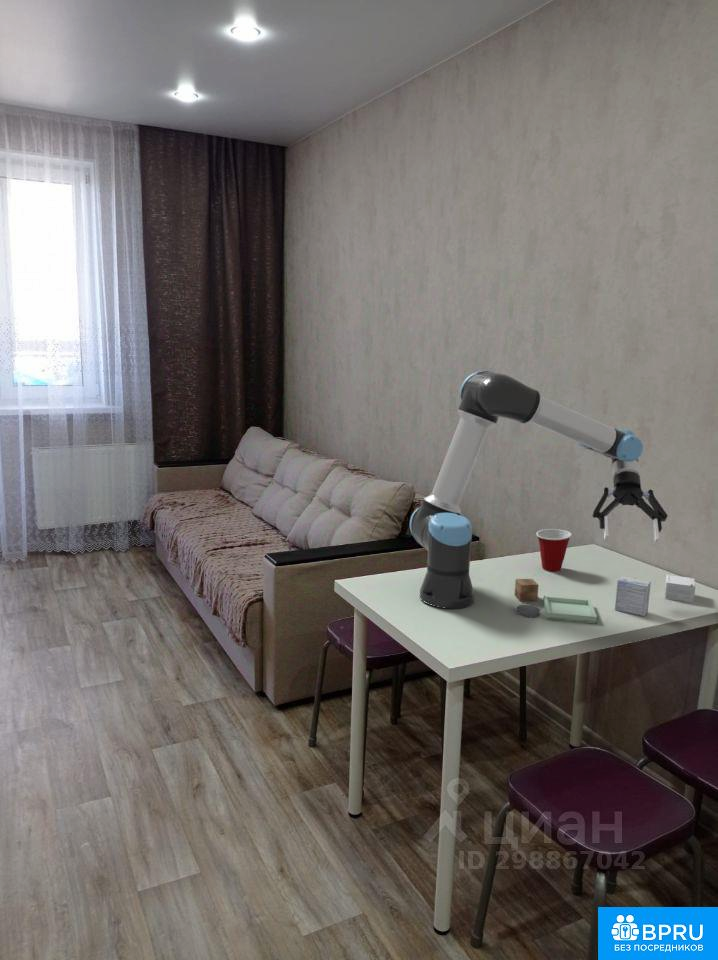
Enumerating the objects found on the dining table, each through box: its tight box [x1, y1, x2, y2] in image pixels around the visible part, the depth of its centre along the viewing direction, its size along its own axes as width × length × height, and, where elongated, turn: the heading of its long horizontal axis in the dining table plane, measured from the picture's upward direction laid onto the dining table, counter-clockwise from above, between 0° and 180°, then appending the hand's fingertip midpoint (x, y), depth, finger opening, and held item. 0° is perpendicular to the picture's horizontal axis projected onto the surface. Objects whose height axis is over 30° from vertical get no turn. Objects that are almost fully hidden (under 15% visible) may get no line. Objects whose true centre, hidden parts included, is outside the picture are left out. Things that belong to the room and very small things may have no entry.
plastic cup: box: [535, 528, 572, 573], centre depth 231 cm, size 11×11×12 cm
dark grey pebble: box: [516, 604, 540, 618], centre depth 195 cm, size 6×6×2 cm
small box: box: [664, 574, 696, 604], centre depth 210 cm, size 8×8×5 cm
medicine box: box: [614, 576, 651, 617], centre depth 197 cm, size 8×4×9 cm, turn 57°
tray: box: [542, 595, 598, 624], centre depth 196 cm, size 13×13×2 cm
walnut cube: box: [514, 578, 539, 603], centre depth 205 cm, size 5×5×5 cm
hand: (631, 539), depth 205 cm, fingers open, 13 cm apart
